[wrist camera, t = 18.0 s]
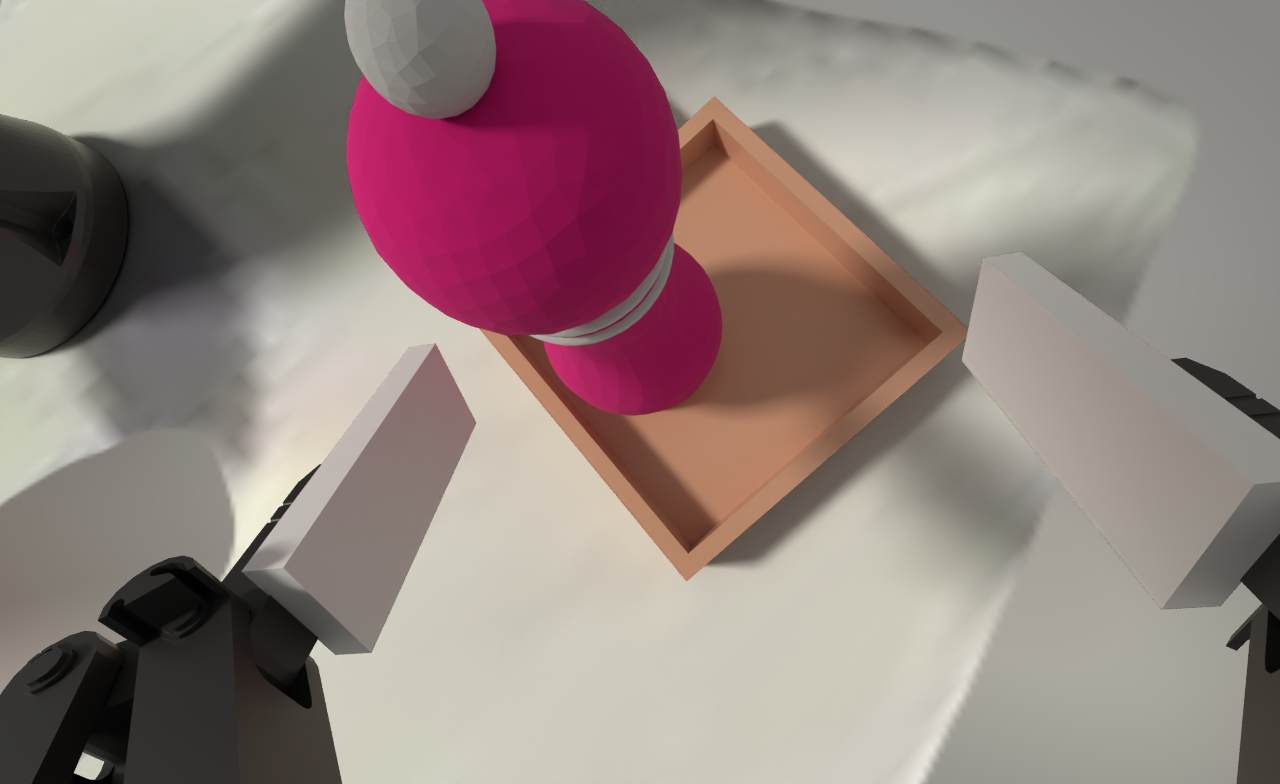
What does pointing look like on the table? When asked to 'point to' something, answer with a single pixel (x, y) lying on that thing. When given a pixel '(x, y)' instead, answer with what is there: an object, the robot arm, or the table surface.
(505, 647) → the table surface
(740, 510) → the terracotta tray
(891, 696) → the table surface
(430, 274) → the pepper mill
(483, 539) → the table surface
